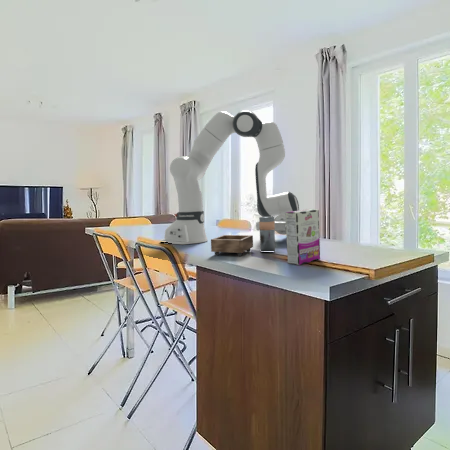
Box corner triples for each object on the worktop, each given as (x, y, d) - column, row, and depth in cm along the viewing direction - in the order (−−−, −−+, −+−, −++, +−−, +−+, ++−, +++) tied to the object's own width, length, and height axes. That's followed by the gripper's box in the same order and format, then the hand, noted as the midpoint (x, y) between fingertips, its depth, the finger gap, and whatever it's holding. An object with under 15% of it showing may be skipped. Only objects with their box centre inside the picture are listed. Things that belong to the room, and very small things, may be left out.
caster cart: (211, 255, 131) (210, 239, 130) (224, 249, 142) (223, 234, 141) (242, 257, 126) (241, 240, 126) (253, 250, 137) (252, 235, 137)
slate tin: (258, 253, 133) (257, 217, 131) (262, 250, 138) (261, 216, 136) (273, 253, 130) (272, 217, 129) (276, 250, 135) (276, 216, 134)
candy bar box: (308, 257, 120) (307, 209, 119) (320, 259, 117) (319, 209, 115) (286, 263, 113) (284, 211, 112) (298, 265, 109) (297, 212, 108)
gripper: (260, 217, 161) (250, 220, 148) (306, 216, 152) (300, 220, 140) (261, 231, 161) (251, 235, 149) (307, 231, 153) (300, 236, 140)
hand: (275, 227), depth 144 cm, fingers open, 8 cm apart
